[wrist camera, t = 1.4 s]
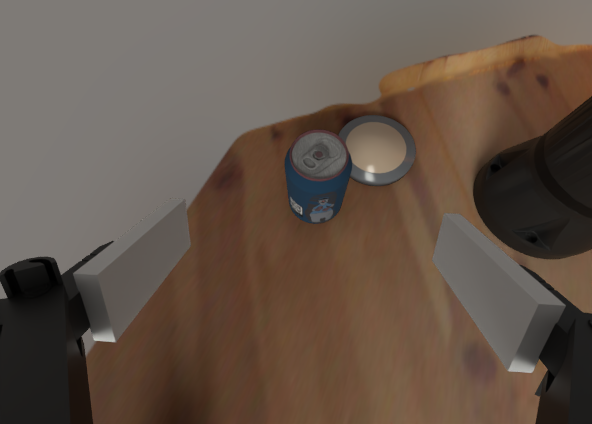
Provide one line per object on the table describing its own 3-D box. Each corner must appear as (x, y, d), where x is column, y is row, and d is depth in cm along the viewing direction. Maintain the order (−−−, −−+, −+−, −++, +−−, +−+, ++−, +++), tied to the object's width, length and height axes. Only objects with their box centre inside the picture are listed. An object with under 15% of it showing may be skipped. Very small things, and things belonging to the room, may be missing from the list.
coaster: (398, 114, 44) (400, 108, 43) (424, 177, 40) (427, 173, 39) (327, 127, 44) (328, 122, 43) (346, 192, 40) (347, 188, 39)
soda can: (315, 170, 41) (319, 112, 30) (351, 203, 39) (370, 154, 28) (278, 201, 40) (268, 152, 28) (314, 237, 38) (318, 199, 26)
